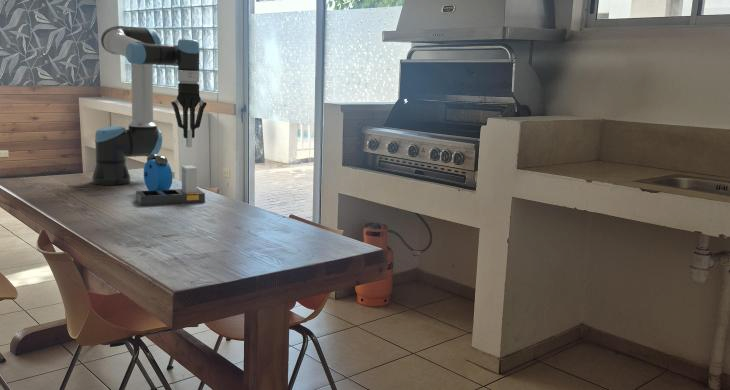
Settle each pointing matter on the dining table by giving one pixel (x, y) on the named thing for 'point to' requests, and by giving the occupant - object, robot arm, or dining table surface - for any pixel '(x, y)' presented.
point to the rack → (168, 197)
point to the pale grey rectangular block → (189, 179)
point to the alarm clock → (157, 173)
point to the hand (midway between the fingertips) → (189, 146)
